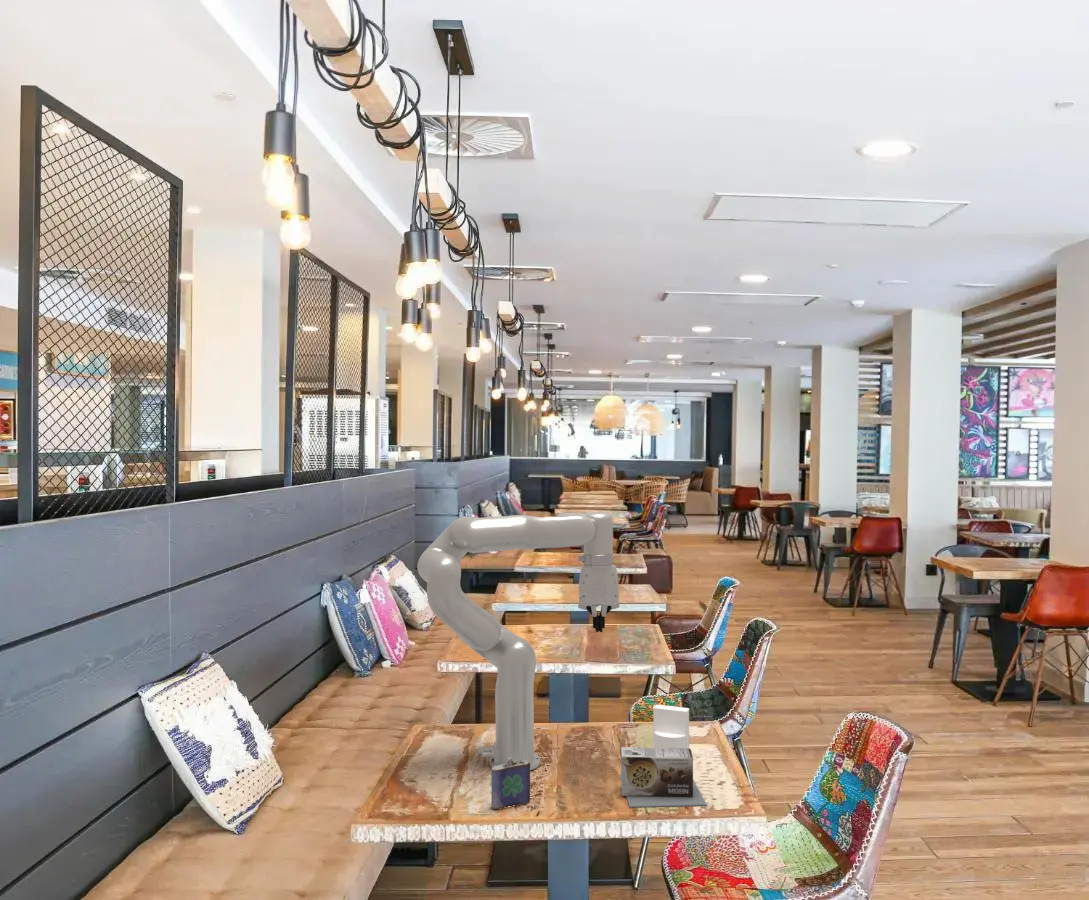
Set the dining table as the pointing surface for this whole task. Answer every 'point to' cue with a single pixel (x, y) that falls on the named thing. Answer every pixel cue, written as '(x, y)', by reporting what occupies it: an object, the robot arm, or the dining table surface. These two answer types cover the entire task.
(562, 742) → the dining table surface
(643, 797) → the mat
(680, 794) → the coffee box
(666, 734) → the cylinder with rectangular tab
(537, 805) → the dining table surface
